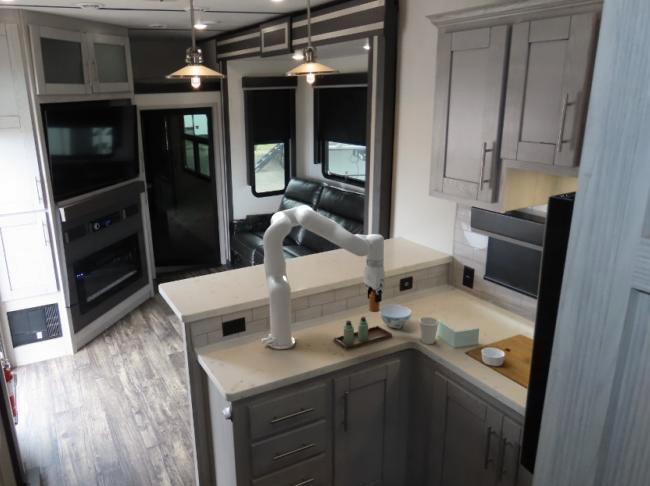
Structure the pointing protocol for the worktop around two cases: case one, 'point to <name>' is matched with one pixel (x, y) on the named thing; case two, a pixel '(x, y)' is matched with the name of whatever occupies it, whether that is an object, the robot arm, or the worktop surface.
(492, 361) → the ramekin
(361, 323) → the green bottle
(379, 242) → the robot arm
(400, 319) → the chinaware
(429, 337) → the dixie cup
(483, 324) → the worktop surface
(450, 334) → the l-shaped corner panel
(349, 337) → the green bottle
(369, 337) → the tray
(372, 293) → the amber bottle
